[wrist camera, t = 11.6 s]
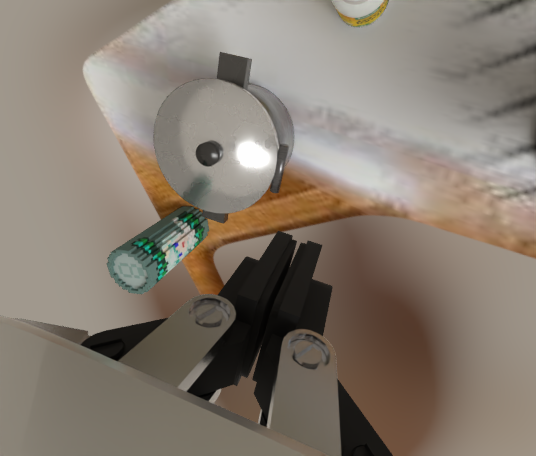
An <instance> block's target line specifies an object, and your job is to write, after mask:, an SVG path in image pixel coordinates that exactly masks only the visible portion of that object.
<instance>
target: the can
mask: <svg viewBox="0 0 536 456" xmlns="http://www.w3.org/2000/svg"><path fill="white" fill-rule="evenodd" d="M208 231H209V227H208V221H207V219H205V217H202V213H201V212H199V209H194V207H187V206H182V207H181V208H179V209H177V210H176V211H174V212H173V213H171V214H169V215H168V216H166V217H165V218H163V219H162V220H160V221H159V222H157V223H156V224H154V225H152V226H151V227H149V228H148V229H146V230H145V231H143V232H142V233H140V234H139V235H137V236H135V237H134V238H132V239H131V240H129V241H128V242H126V243H125V244H123V245H122V246H120V247H118V248H117V249H115V250H114V251H112V252H111V254H110V255H109V257H108V261H109V262H108V263H107V266H108V269H109V272H110V275H111V277H112V278H114V279H115V283H118V284H119V286H121V287H122V289H126V290H128V292H129V293H137V294H143V293H144V292H147V291H149V289H151V288H152V287H153V286H154V285H155V284H156V283H157V282H158V281H159V280H160V279H162V278H163V277H164V276H165V275H166V274H167V273H168V272H169V271H170V270H171V269H172V268H173V267H175V266H176V265H177V264H178V263H179V262H180V261H181V260H182V259H183V258H184V257H185V256H186V255H188V254H189V253H190V252H191V251H192V250H193V249H194V248H195V247H196V246H197V245H198V244H199V243H201V242H202V241H203V240H204V238H205V237H206V236H207V235H208V234H207V232H208Z"/></svg>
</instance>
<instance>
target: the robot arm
mask: <svg viewBox="0 0 536 456" xmlns="http://www.w3.org/2000/svg"><path fill="white" fill-rule="evenodd" d="M296 243H297V241H295V240H292V235H289V234H286V233H283V232H280V231H278V232H277V233H276V235H275V237H274V238H273V240H272V241H271V243H270V244H269V246H268V247H267V249H266V251H265V252H264V254H263V255H262V257H261V258H260V260H256V259H253V258H250V257H245V259H244V260H243V261H242V263H241V264H240V265H239V267H238V268H237V270H236V271H235V272H234V274H233V275H232V276H231V278H230V279H229V280H228V282H227V283H226V284H225V286H224V287H223V288H222V290H221V291H220V293H219V294H218V295H212V294H205V295H199V296H196V297H194V298H192V299H191V300H189V301H188V302H187V303H185V304H184V305H183V306H182V307H181V308H180V309H179V310H177V311H176V312H175V313H174V314H173V315H171V317H169V318H165V319H160V320H155V321H151V322H146V323H141V324H136V325H131V326H126V327H121V328H117V329H112V330H107V331H103V332H100V333H97V334H95V335H93V336H89V335H88V331H85V330H80V329H74V328H69V327H64V326H58V325H52V324H47V323H42V322H37V321H31V320H26V319H14V318H9V317H5V316H1V315H0V456H393V455H392V454H391V453H390V451H389V450H388V448H387V447H386V445H385V444H384V443H383V441H382V440H381V439H380V437H379V436H378V434H377V433H376V431H375V430H374V429H373V427H372V426H371V425H370V423H369V422H368V420H367V419H366V418H365V417H364V415H363V414H362V412H361V411H360V409H359V408H358V407H357V405H356V404H355V403H354V401H353V400H352V398H351V397H350V396H349V394H348V393H347V391H346V390H345V389H344V387H343V386H342V384H341V383H340V382H339V380H338V379H337V364H336V355H335V351H334V349H333V347H332V345H331V344H330V343H329V342H328V341H327V339H326V338H324V337H323V332H324V327H325V322H326V317H327V312H328V307H329V302H330V297H331V292H332V286H331V285H328V284H325V283H322V282H319V281H316V280H313V279H312V277H313V273H314V270H315V267H316V263H317V260H318V257H319V254H320V251H321V248H322V245H320V244H317V243H314V242H311V241H308V242H307V244H305V243H301V244H300V246H299V248H298V250H297V253H296V255H295V257H294V259H293V261H292V264H291V260H292V257H293V254H294V250H295V246H296ZM290 264H291V266H290ZM261 345H262V346H261ZM260 348H261V349H260ZM259 350H260V353H259V357H258V361H257V364H256V368H255V372H254V376H253V380H254V381H256V382H257V384H256V387H255V391H254V395H255V397H256V399H257V401H258V403H259V405H260V407H261V412H260V415H259V421H258V423H255V422H253V421H251V420H249V419H246V418H244V417H242V416H240V415H238V414H235V413H233V412H231V411H228V410H226V409H224V408H222V407H220V406H217V405H215V404H214V402H215V401H216V399H217V398H218V396H219V394H220V391H221V389H222V388H224V387H227V386H230V385H233V384H234V385H236V386H237V385H238V382H239V380H240V378H241V376H244V377H246V378H247V377H248V375H249V373H250V371H251V369H252V366H253V364H254V362H255V359H256V357H257V354H258V352H259Z"/></svg>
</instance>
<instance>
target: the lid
mask: <svg viewBox="0 0 536 456" xmlns="http://www.w3.org/2000/svg"><path fill="white" fill-rule="evenodd" d="M154 149H155V154H156V158H157V161H158V164H159V167H160V169H161V171H162V173H163V175H164V177H165V178H166V180H167V181H168V183H169V184H170V186H171V187H172V188H173V189H174V190H175V191H176V192H177V193H178V194H179V195H180V196H181V197H182V198H183V199H184V200H186V201H187V202H189V203H190V204H192V205H194V206H196V207H198V208H200V209H202V210H205V211H209V212H213V213H233V212H237V211H241V210H243V209H245V208H248V207H249V206H251V205H252V204H254V203H255V202H256V201H258V200H259V199H260V198H261V197H262V196H263V194H264V193H265V192H266V191H267V190H268V188H269V187H270V185H271V187H270V191H271V192H273V193H279V189H280V185H281V181H282V176H283V172H284V168H285V163H286V159H287V155H288V150H289V145H286V144H280V145H279V144H278V138H277V133H276V130H275V127H274V124H273V122H272V120H271V118H270V116H269V114H268V113H267V111H266V110H265V108H264V107H263V105H262V104H261V103H260V102H259V101H258V100H257V99H256V98H255V97H254V96H253V95H252V94H251V93H250V92H248V91H247V90H245V89H244V88H242V87H240V86H238V85H236V84H234V83H232V82H229V81H225V80H220V79H198V80H193V81H190V82H187V83H185V84H183V85H181V86H179V87H178V88H177V89H175V90H174V91H173V92H172V93H171V94H170V95H169V96H168V97H167V98H166V100H165V101H164V102H163V104H162V106H161V108H160V110H159V112H158V115H157V117H156V121H155V126H154Z"/></svg>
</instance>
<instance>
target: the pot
mask: <svg viewBox="0 0 536 456" xmlns="http://www.w3.org/2000/svg"><path fill="white" fill-rule="evenodd" d="M251 62H252V59H249V58H245V57H240V56H236V55H232V54H227V53H222V52H220V56H219V65H218V74H217V79H220V80H225V81H229V82H232V83H234V84H236V85H238V86H240V87H242V88H244V89H245V90H247V91H248V92H250V93H251V94H252V95H253V96H254V97H255V98H256V99H257V100H258V101H259V102H260V103H261V104H262V105H263V107H264V108H265V110H266V111H267V113H268V114H269V116H270V118H271V120H272V122H273V124H274V127H275V130H276V133H277V138H278V144H279V145H280V144H286V145H289V150H288V155H287V159H286V163H285V166H286V164H287V163H288V161H289V159H290V157H291V154H292V151H293V145H294V129H293V124H292V121H291V118H290V115H289V113H288V111H287V109H286V108H285V106H284V105H283V103H282V102H281V101H280V100H279V99H278V98H277V97H276V96H275V95H274V94H273V93H271V92H270V91H268V90H267V89H264V88H262V87H260V86H257V85H251V84H248V81H249V75H250V68H251ZM202 217H205V218H208V219H211V220H214V221H217V222H220V223H223V224H224V223H225V222H226V221H227V219H228V213H213V212H209V211H205V210H203V212H202Z"/></svg>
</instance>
